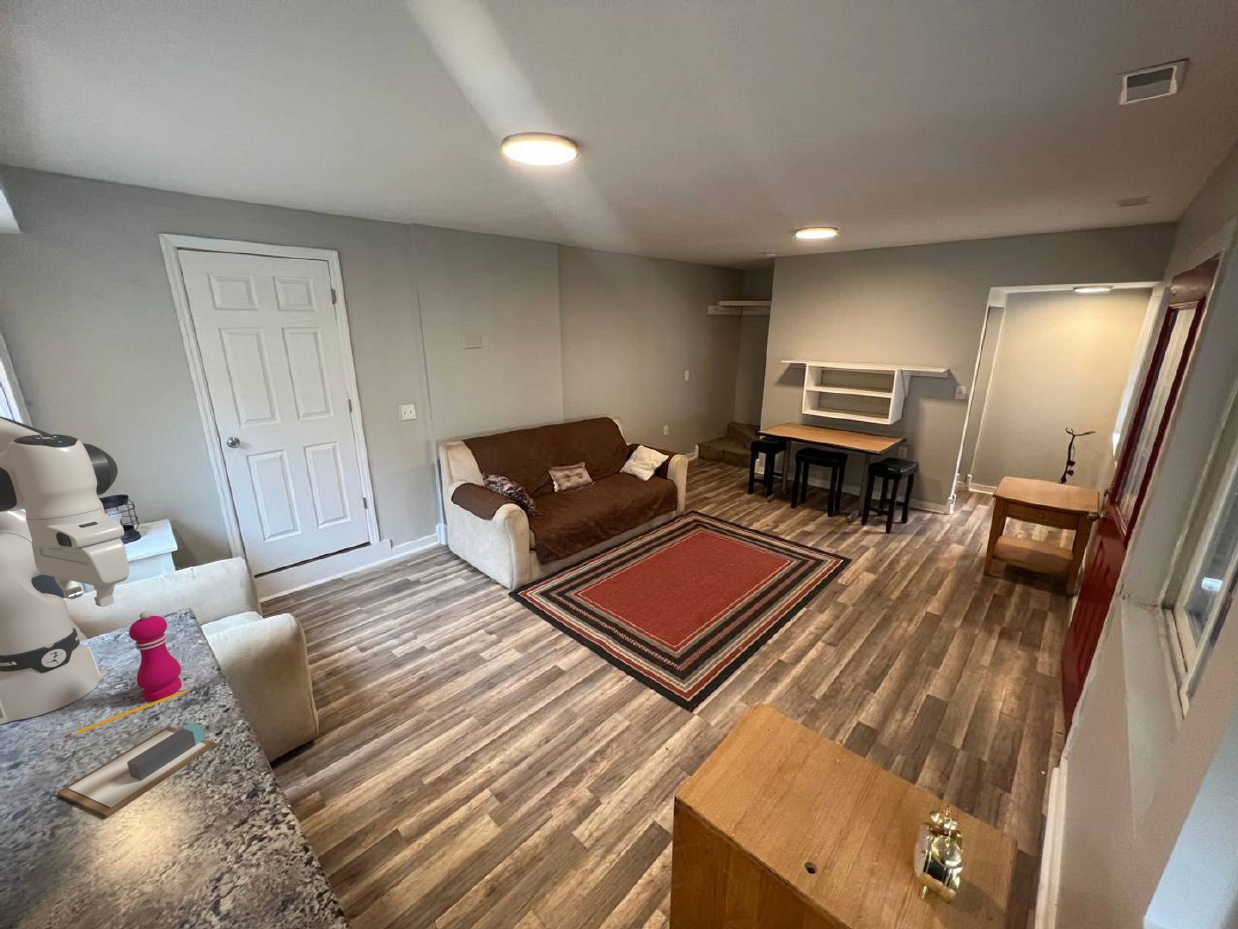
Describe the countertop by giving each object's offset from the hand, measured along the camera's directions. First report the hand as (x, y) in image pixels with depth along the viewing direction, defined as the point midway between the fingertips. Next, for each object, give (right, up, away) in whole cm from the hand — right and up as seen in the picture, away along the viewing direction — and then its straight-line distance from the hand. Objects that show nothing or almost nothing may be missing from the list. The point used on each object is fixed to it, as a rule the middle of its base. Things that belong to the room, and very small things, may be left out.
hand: (89, 601), depth 85 cm
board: (+7, -31, +2) cm, 32 cm away
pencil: (-9, -29, +17) cm, 35 cm away
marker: (+11, -30, +3) cm, 32 cm away
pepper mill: (-9, -27, +23) cm, 37 cm away
